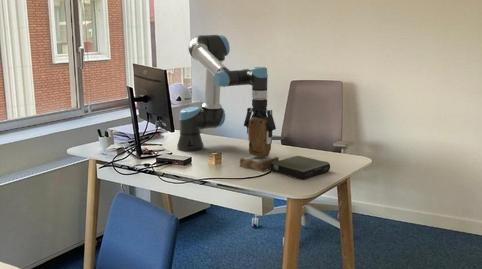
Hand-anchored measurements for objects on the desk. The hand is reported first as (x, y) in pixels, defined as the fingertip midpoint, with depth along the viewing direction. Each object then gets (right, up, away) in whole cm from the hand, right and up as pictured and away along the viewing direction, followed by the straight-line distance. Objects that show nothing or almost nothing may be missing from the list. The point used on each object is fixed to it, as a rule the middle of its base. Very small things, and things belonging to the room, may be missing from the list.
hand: (259, 142), depth 266 cm
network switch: (+20, -15, -7) cm, 26 cm away
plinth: (0, -12, +3) cm, 12 cm away
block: (0, -7, +2) cm, 7 cm away
